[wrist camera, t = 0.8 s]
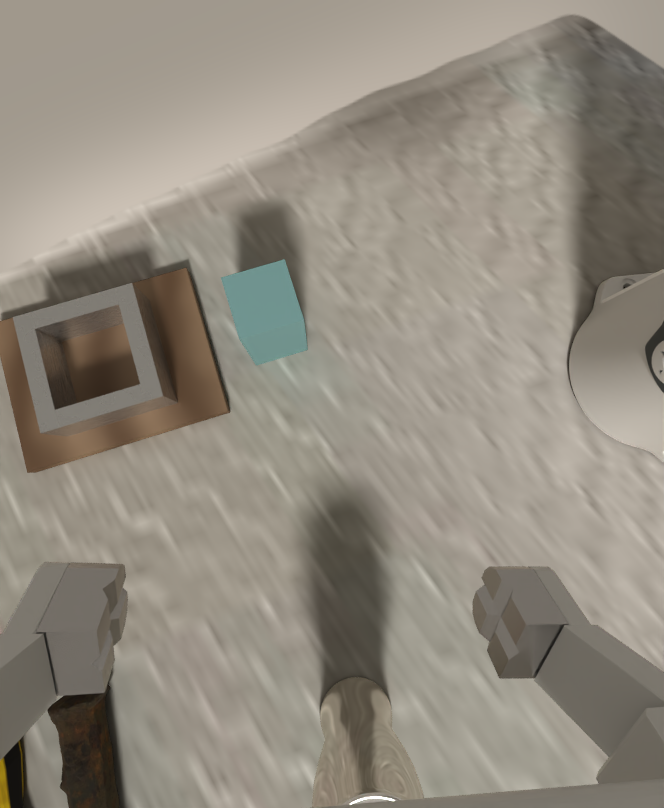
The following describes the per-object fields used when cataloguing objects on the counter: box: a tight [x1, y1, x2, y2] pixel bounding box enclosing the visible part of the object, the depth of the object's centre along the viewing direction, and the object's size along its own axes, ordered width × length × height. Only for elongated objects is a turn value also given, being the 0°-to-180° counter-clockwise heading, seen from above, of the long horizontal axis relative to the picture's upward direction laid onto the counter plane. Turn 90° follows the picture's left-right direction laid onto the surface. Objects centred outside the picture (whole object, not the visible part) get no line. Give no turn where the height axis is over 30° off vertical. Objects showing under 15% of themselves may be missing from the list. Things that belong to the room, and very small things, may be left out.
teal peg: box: [221, 259, 308, 365], centre depth 40 cm, size 5×5×9 cm
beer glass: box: [312, 677, 424, 807], centre depth 32 cm, size 7×7×15 cm
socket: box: [13, 283, 178, 437], centre depth 40 cm, size 10×10×4 cm
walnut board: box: [0, 268, 230, 473], centre depth 43 cm, size 18×14×1 cm
